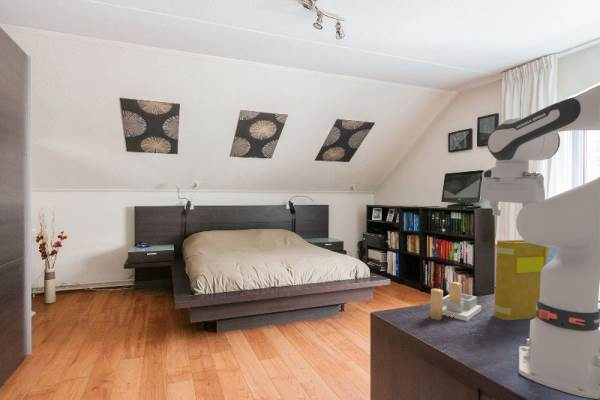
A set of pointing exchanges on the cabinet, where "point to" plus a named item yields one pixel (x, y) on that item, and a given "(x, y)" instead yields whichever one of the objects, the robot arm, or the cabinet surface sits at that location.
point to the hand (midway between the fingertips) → (509, 217)
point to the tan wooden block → (436, 304)
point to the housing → (460, 303)
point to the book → (518, 278)
